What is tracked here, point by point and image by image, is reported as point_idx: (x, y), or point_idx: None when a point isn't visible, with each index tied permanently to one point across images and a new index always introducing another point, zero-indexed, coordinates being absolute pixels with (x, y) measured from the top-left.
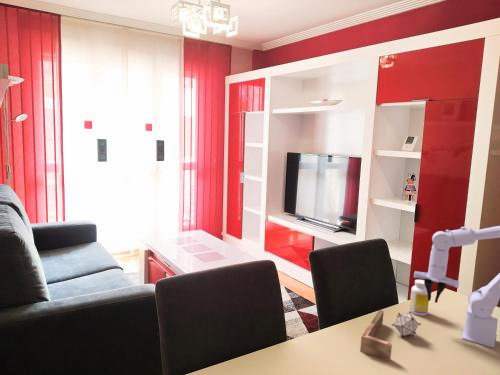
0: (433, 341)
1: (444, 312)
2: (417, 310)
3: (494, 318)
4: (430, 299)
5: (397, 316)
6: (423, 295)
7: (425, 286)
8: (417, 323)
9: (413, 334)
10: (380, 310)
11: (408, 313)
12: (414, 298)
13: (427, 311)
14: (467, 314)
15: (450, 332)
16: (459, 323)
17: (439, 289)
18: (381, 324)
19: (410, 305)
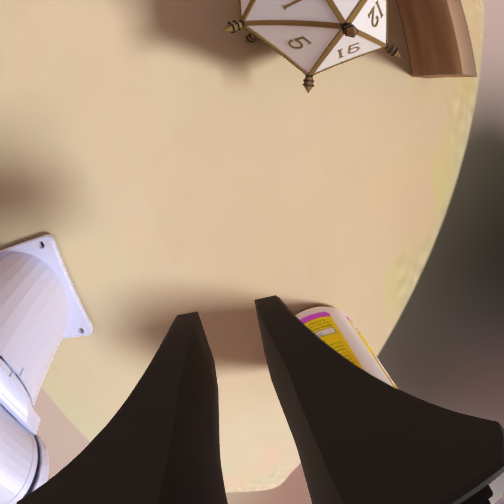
0: (140, 70)
1: (222, 409)
2: (319, 320)
3: None
4: (262, 341)
5: (392, 45)
6: None
7: (437, 406)
8: (247, 7)
9: (252, 37)
10: (472, 71)
11: (350, 16)
12: (366, 360)
13: None
14: (3, 346)
15: (115, 259)
16: (137, 372)
17: (110, 487)
18: (412, 55)
19: (359, 332)
